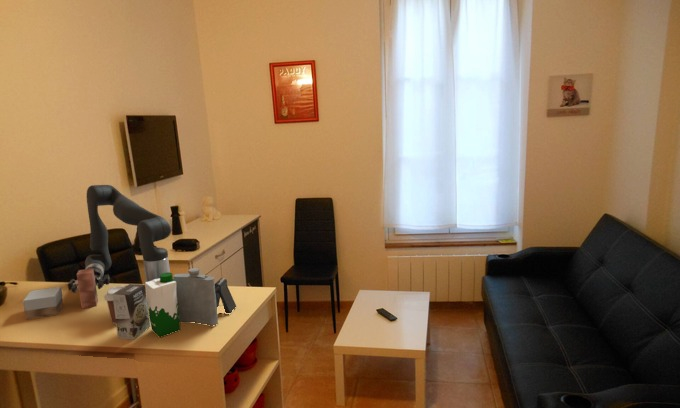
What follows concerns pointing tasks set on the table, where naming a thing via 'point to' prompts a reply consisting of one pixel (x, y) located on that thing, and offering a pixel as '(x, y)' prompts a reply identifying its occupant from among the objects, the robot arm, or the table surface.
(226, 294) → the phone stand
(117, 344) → the table surface
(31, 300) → the tower middle block
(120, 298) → the coffee box
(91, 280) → the tall block
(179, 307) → the hip flask
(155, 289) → the milk carton
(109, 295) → the coffee cup
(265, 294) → the table surface
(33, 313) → the tower base
